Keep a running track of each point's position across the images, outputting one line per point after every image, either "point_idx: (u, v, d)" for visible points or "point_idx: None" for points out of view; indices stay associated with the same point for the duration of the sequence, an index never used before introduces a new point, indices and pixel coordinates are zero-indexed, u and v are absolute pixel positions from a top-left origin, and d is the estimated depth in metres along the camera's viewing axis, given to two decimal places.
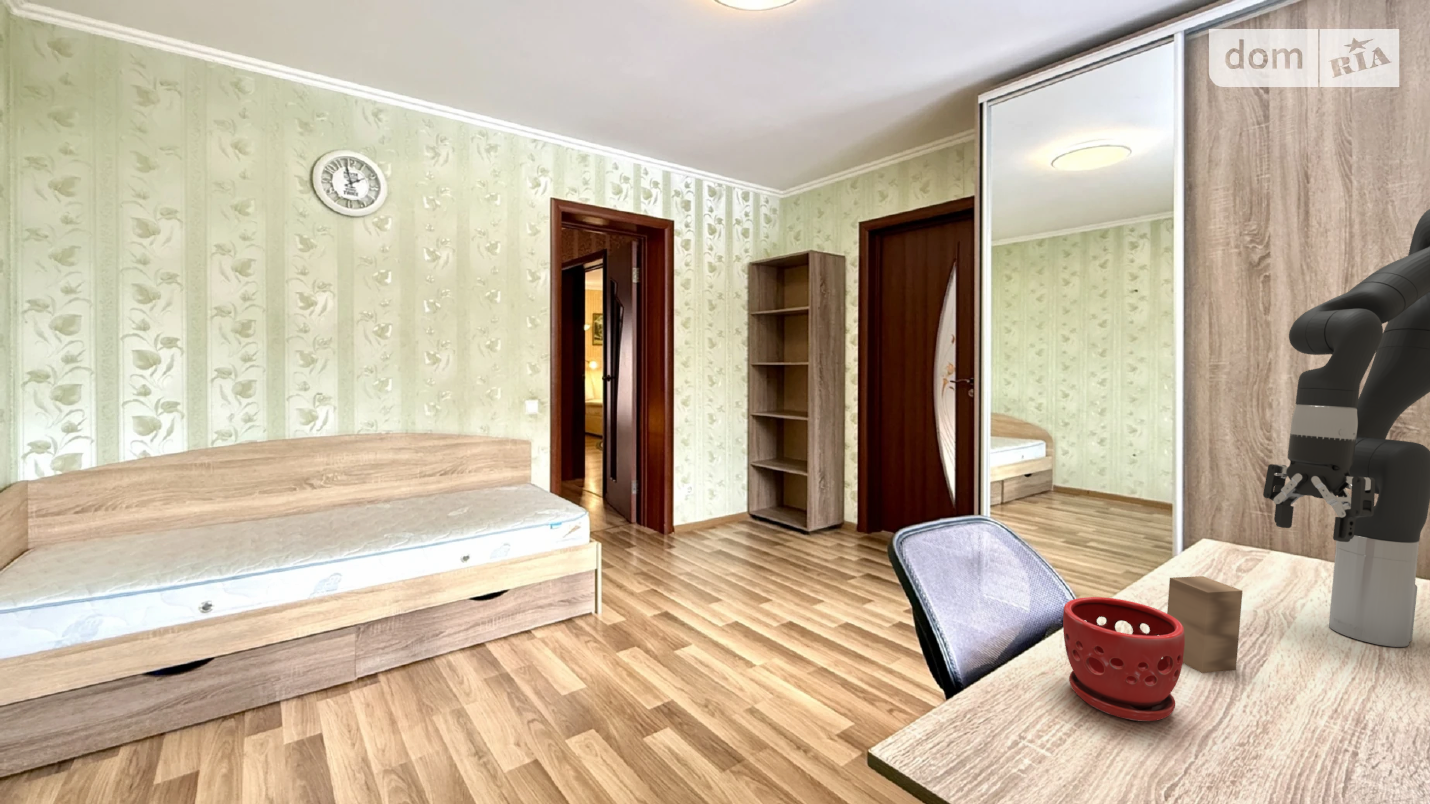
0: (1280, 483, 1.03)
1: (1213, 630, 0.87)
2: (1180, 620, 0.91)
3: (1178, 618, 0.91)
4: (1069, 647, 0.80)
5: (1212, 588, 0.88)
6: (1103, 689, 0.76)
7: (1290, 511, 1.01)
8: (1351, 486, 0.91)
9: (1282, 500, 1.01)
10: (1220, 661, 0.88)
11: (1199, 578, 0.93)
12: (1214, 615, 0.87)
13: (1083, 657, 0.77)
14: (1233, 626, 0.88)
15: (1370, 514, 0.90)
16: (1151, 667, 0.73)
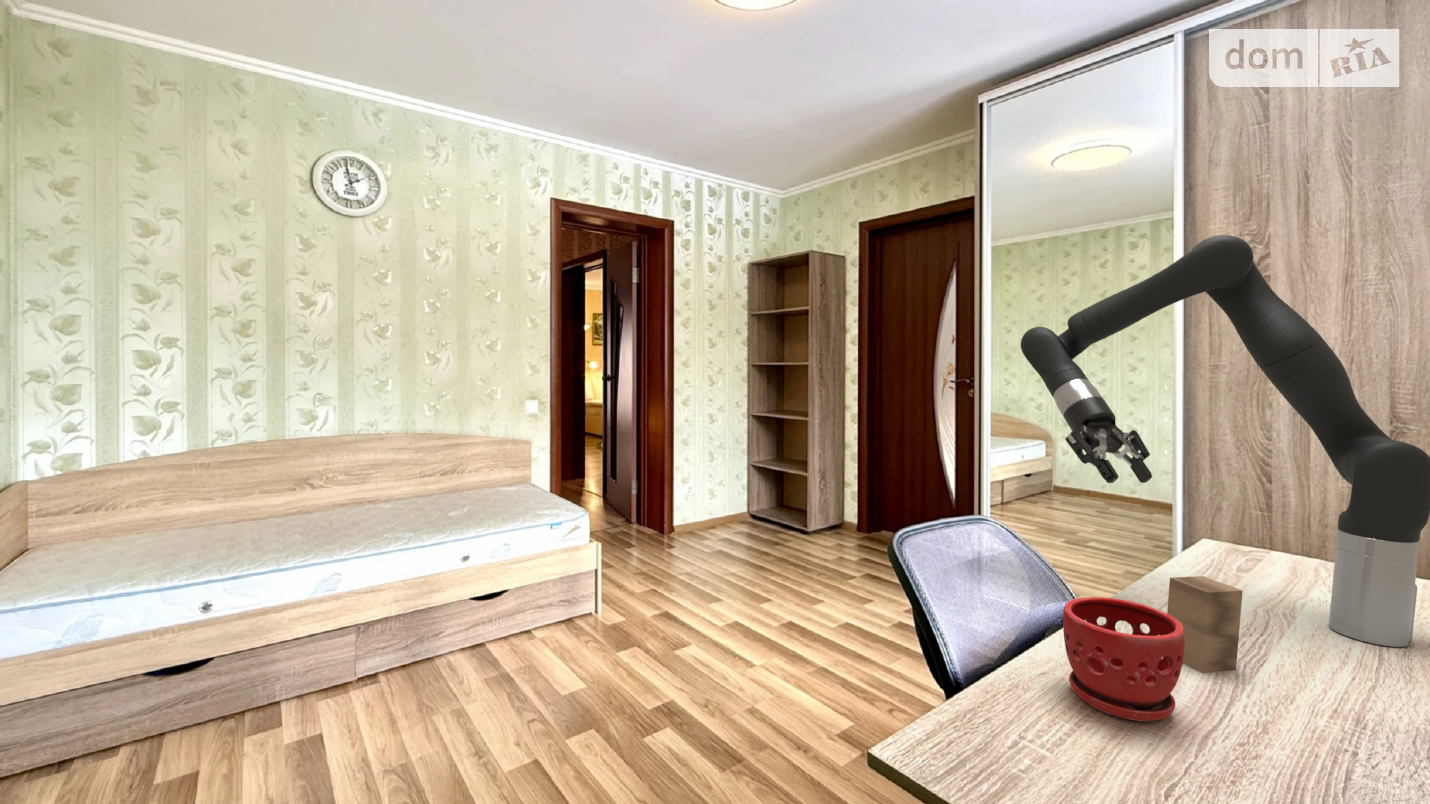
0: (1135, 445, 1.11)
1: (1213, 630, 0.87)
2: (1180, 620, 0.91)
3: (1178, 618, 0.91)
4: (1069, 647, 0.80)
5: (1212, 588, 0.88)
6: (1103, 689, 0.76)
7: (1138, 465, 1.08)
8: None
9: (1127, 462, 1.10)
10: (1220, 661, 0.88)
11: (1199, 578, 0.93)
12: (1214, 615, 0.87)
13: (1083, 657, 0.77)
14: (1233, 626, 0.88)
15: (1088, 455, 1.07)
16: (1151, 667, 0.73)
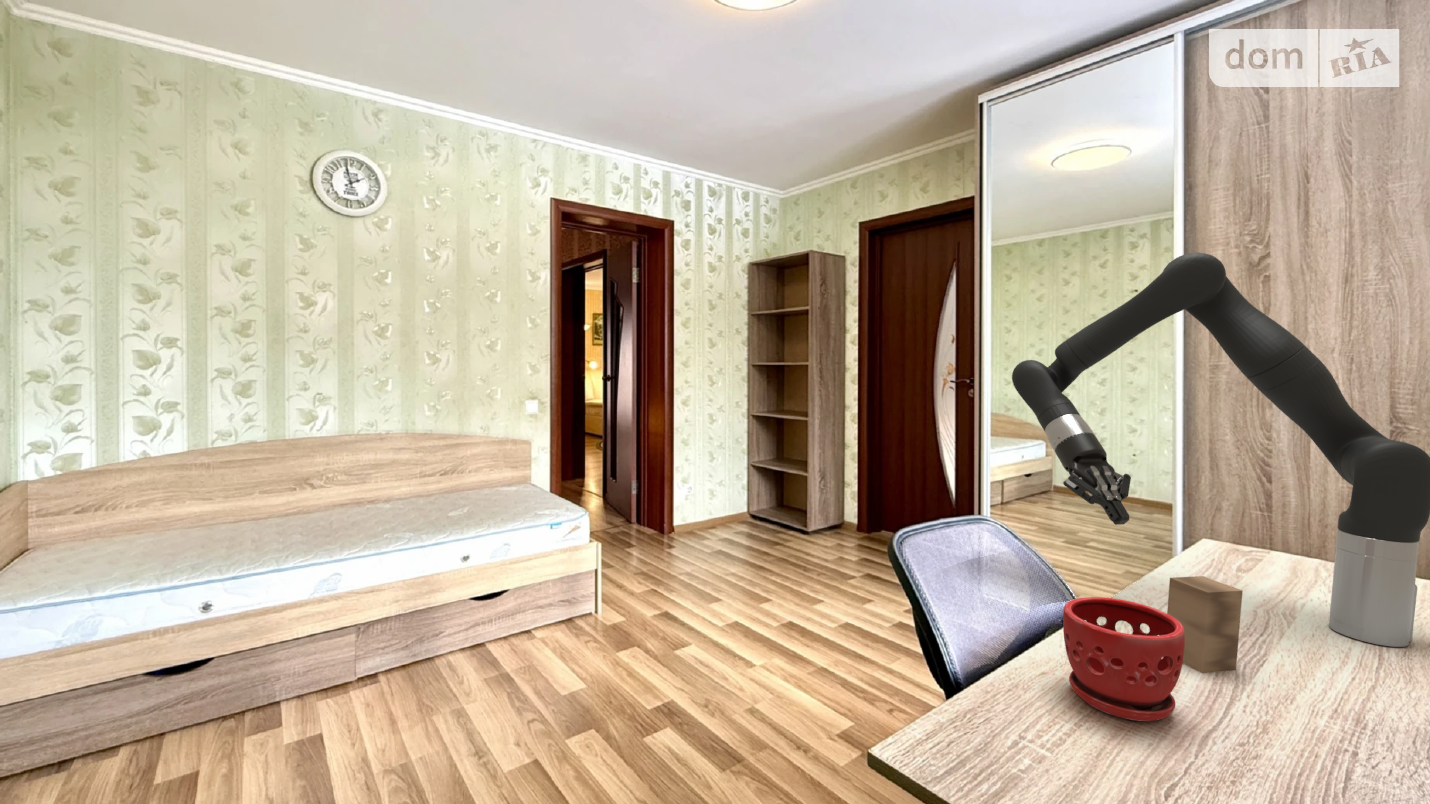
0: (1119, 486, 1.10)
1: (1213, 630, 0.87)
2: (1180, 620, 0.91)
3: (1178, 618, 0.91)
4: (1069, 647, 0.80)
5: (1212, 588, 0.88)
6: (1103, 689, 0.76)
7: None
8: None
9: None
10: (1220, 661, 0.88)
11: (1199, 578, 0.93)
12: (1214, 615, 0.87)
13: (1083, 657, 0.77)
14: (1233, 626, 0.88)
15: (1097, 497, 1.07)
16: (1151, 667, 0.73)
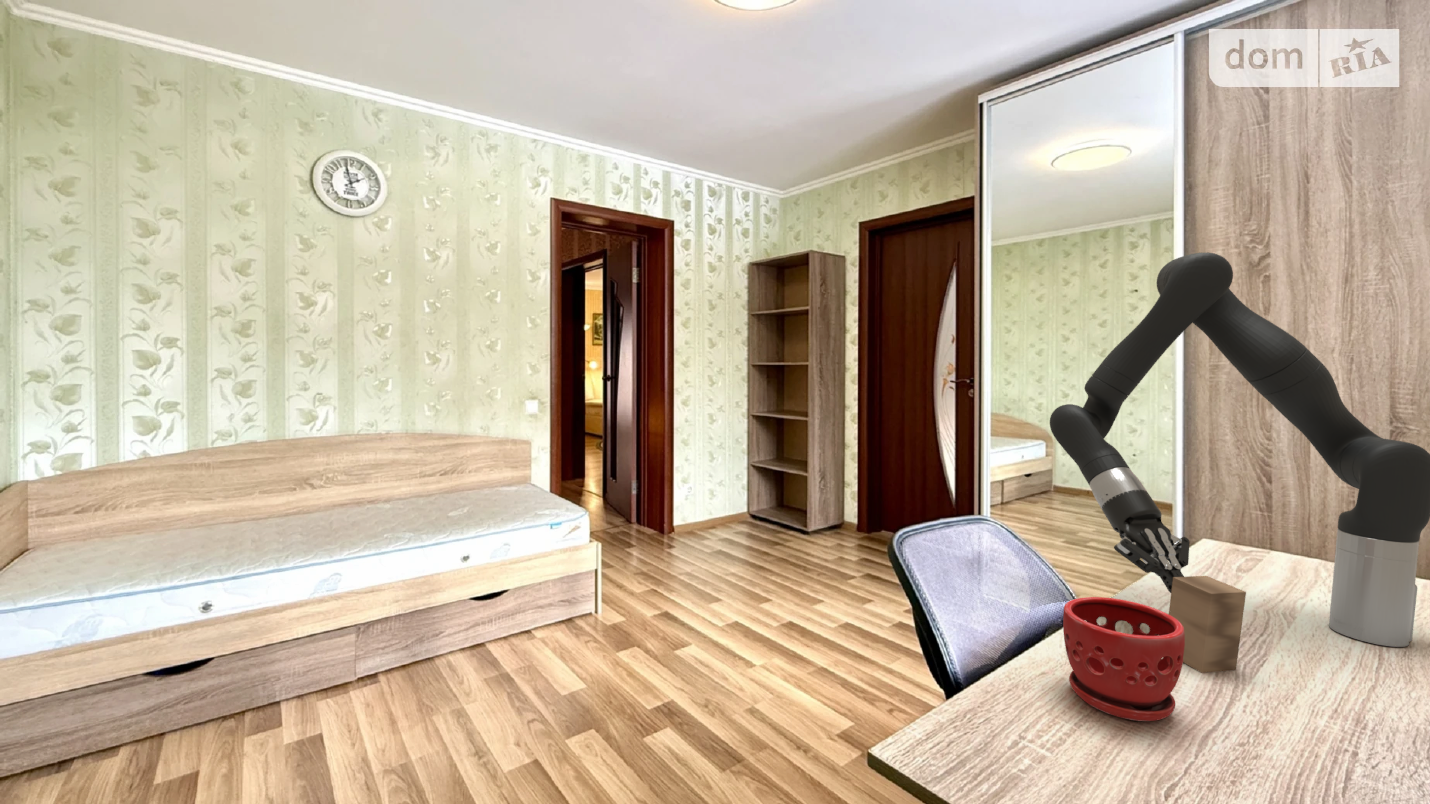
0: (1177, 551, 0.99)
1: (1215, 631, 0.87)
2: (1182, 620, 0.91)
3: (1180, 618, 0.91)
4: (1069, 647, 0.80)
5: (1216, 589, 0.88)
6: (1103, 689, 0.76)
7: (1175, 576, 0.95)
8: None
9: None
10: (1220, 662, 0.88)
11: (1202, 578, 0.92)
12: (1216, 616, 0.87)
13: (1083, 657, 0.77)
14: (1235, 627, 0.88)
15: (1154, 566, 0.96)
16: (1151, 667, 0.73)
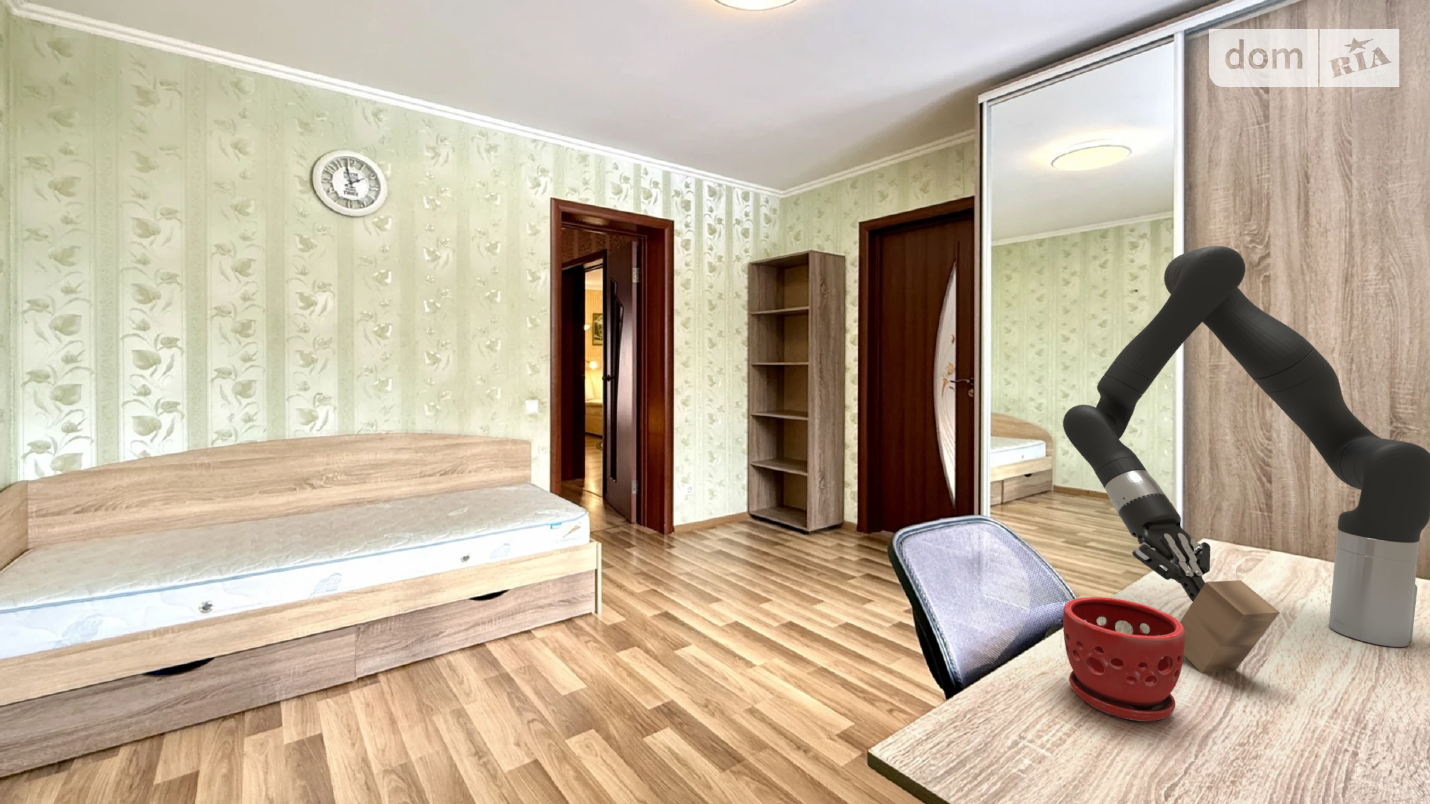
0: (1198, 557, 0.95)
1: (1231, 642, 0.85)
2: (1199, 622, 0.88)
3: (1198, 619, 0.88)
4: (1069, 647, 0.80)
5: (1249, 607, 0.83)
6: (1103, 689, 0.76)
7: None
8: None
9: None
10: (1224, 664, 0.87)
11: (1236, 585, 0.87)
12: (1239, 631, 0.84)
13: (1083, 657, 0.77)
14: (1253, 639, 0.85)
15: (1174, 573, 0.92)
16: (1151, 667, 0.73)
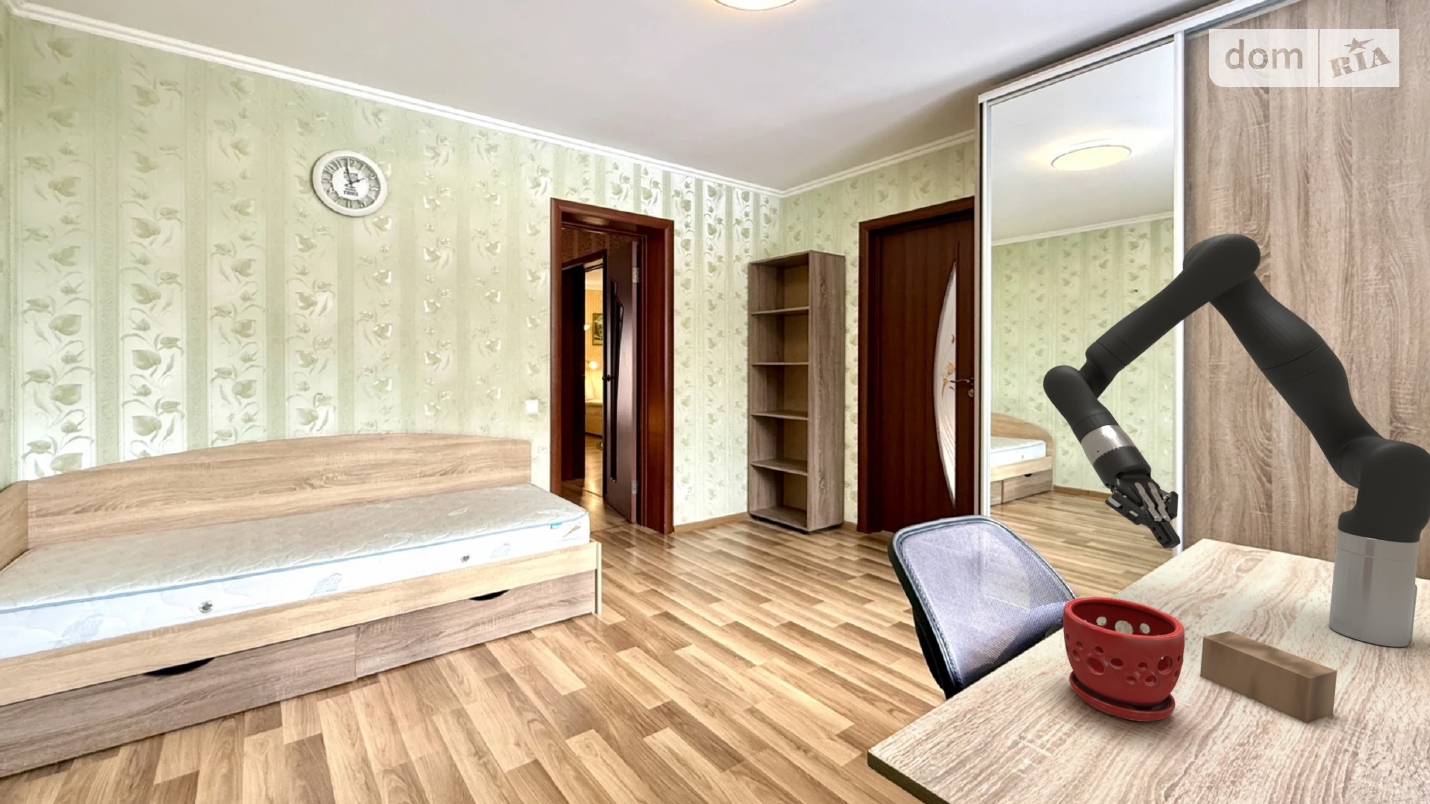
0: (1166, 505, 1.00)
1: None
2: (1253, 673, 0.81)
3: (1255, 671, 0.81)
4: (1069, 647, 0.80)
5: (1316, 712, 0.76)
6: (1103, 689, 0.76)
7: None
8: None
9: None
10: None
11: (1329, 679, 0.77)
12: None
13: (1083, 657, 0.77)
14: None
15: (1144, 518, 0.97)
16: (1151, 667, 0.73)
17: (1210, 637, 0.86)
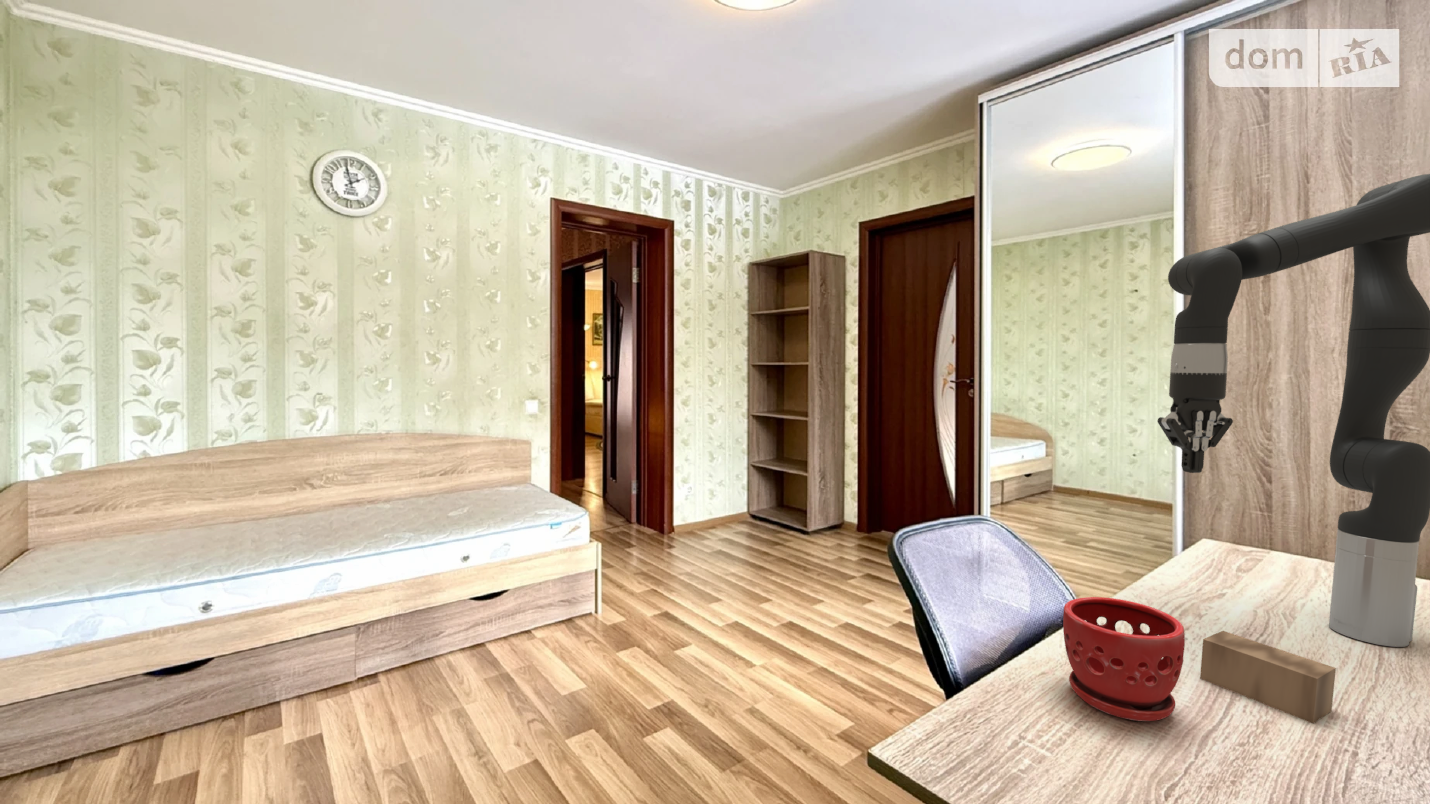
0: (1214, 430, 1.03)
1: None
2: (1256, 674, 0.80)
3: (1258, 672, 0.80)
4: (1069, 647, 0.80)
5: (1320, 711, 0.77)
6: (1103, 689, 0.76)
7: None
8: None
9: None
10: None
11: (1330, 677, 0.77)
12: None
13: (1083, 657, 0.77)
14: None
15: (1183, 446, 1.02)
16: (1151, 667, 0.73)
17: (1210, 639, 0.86)
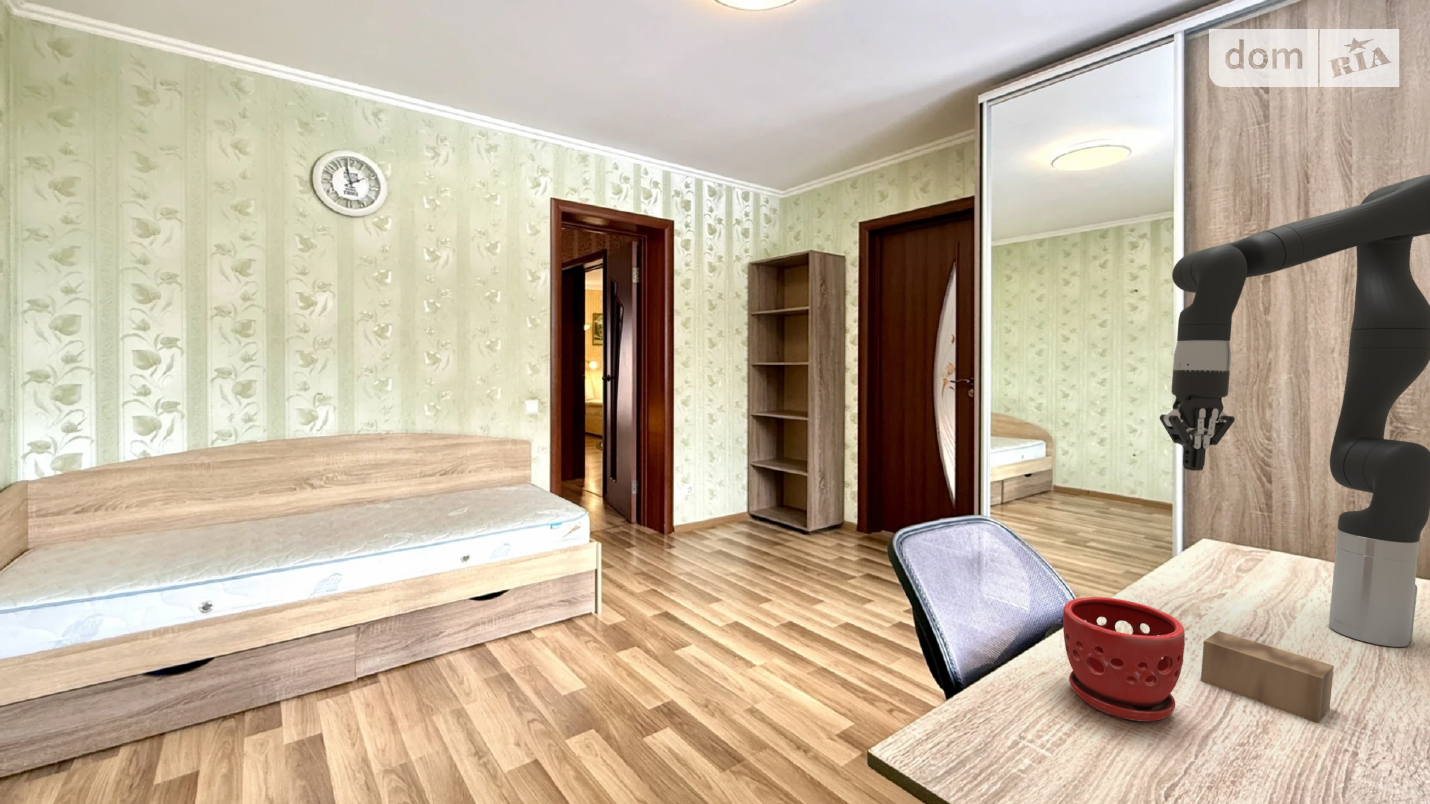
0: (1215, 428, 1.03)
1: None
2: (1259, 675, 0.80)
3: (1261, 673, 0.80)
4: (1069, 647, 0.80)
5: (1323, 710, 0.77)
6: (1103, 689, 0.76)
7: None
8: None
9: None
10: None
11: (1330, 675, 0.78)
12: None
13: (1083, 657, 0.77)
14: None
15: (1184, 444, 1.01)
16: (1151, 667, 0.73)
17: (1210, 640, 0.85)
